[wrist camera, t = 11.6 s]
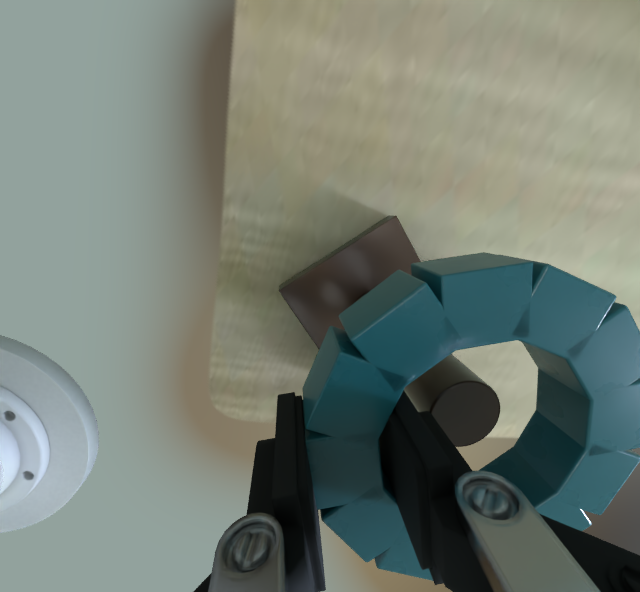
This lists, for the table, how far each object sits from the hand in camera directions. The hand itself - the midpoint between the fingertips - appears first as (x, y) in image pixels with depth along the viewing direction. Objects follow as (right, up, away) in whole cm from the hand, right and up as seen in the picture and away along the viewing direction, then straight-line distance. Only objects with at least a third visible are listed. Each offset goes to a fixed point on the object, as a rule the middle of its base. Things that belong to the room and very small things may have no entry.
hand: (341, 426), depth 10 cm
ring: (+4, +1, 0) cm, 4 cm away
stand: (+3, +4, +13) cm, 14 cm away
